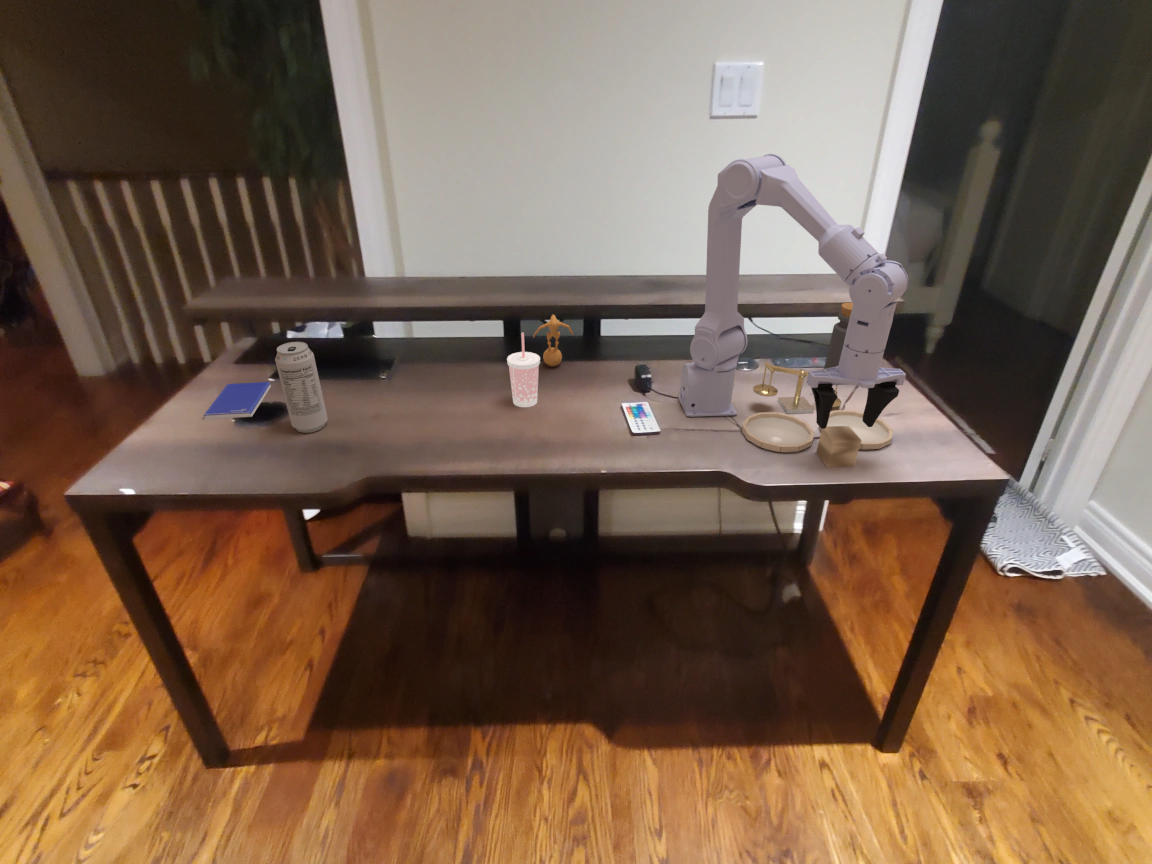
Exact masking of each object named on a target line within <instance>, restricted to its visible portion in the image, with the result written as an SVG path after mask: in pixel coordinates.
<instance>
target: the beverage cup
mask: <svg viewBox="0 0 1152 864" xmlns="http://www.w3.org/2000/svg"><path fill="white" fill-rule="evenodd" d="M520 335H521V336H520V337H521V351H519V352H514V353H511V354H509V355H508V356H507V357H506V361H507V362H506V364H507V365H508V370H509V379H510V387H511V397H512V402H513V404H514V405H515V406H516V407H519V408H529V407H533V406H535V405H537V403H538V394H539V393H538V391H539V390H538V388H539V372H540V371H539V367H540V364H541V356H540V355H539V354H537V353H534V352H531V351H526V350H525V348H526V347H525V332H521V333H520Z"/></svg>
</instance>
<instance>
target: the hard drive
mask: <svg viewBox="0 0 1152 864" xmlns="http://www.w3.org/2000/svg"><path fill="white" fill-rule="evenodd" d="M271 387H272V385H271V382H268V381H261V382H259V381H258V382H245V383H243V382H242V383H228V384H226V385H225V386H224V388H223V389H222V391H221V392H220V393H219V395H218V396H217V397H216V398H215V400H214V401H213V403H212V404H211V405H210V406H209V407H208V409H207V410H206V411H205V413H204V414H203V419H204V420H211V419H212V420H216V419H232V418H233V419H234V418H252V417H253V415H254V414H255V412H256V411H257V409H258V408H259V406H260V405H261V403H262V402H263V400H264V398H265V396H266V395H267V394H268V392H269V390H270V389H271Z"/></svg>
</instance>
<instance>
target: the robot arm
mask: <svg viewBox="0 0 1152 864" xmlns="http://www.w3.org/2000/svg"><path fill="white" fill-rule="evenodd" d="M758 205H760V206H768V207H769V206H770V207H779V208H781V209H782V210H783V211H784V212H786V214H788V215H789V216H790V217H791V218H792V219H793V220H794V221H795V222H796V223H797V224H799V225H800V226H801V227H802V228H803V229H804V230H805V231H807V233H808V234H810V235H811V236H812V237H813V238H814V239H815V240H816V241H817V242H818V252H817V253H818V255H819V256H820V258H822V260H823V261H824V262H825V263H826V264H827V265H828V266H829V267H830V268H831V270H833V271H834V273H836V275H837V276H838V277H839V278H840V279H841V280H842V281H843V282H844V283H845V284H846V285H847V286H848V288H849V289H848V294H849V297H850V299H851V303H853V308H852V312H851V315H850V319H849V323H848V328H847V332H846V336H845V340H844V344H843V349H842V353H841V357H840V361H839V366H836V367H832V368H827V369H824V368H823V369H818V370H809V371H808V372H809V373H808V377H807V378H806V384H807V385H808V386H810V390H811V392H812V395H813V398H814V404H815V410H816V411H815V412H816V413H815V414H816V420H815V422H816V424H817V425H818V428H819V427H820V428H821V429H825V428H826V426H827V424H828V420H829V415H830V412H831V411H832V408H833V407H832V406H833V404H834V402H835V400H836V399H837V398H839V397H838V394H837V395H836V394H835V393H834V392H833V390H835V388H834V387H833V386H836V385H838V386H850V385H851V386H858V387H860V388H862V389H867V396H866V403H865V407H864V409H863V410H864V411H863V412H862V413H863V422H864V423H865V424H866V425H867V426H868V427H872V426H873V424H874V423H875V421H876V420H877V418H880V417H879V416H881V413H882V412H883V411H884V409H885V408H886V407H887V406H888V405H890V403H891V402H892V401H894V400H895V399H896V398H897V397H898V396H899V393H900V389H899V388H898V387H897V386H903V385H904V383H905V380H906V377H907V374H906V372H904V371H903V370H902V369H901V368H889V367H881V364H882V360H883V357H884V353H885V350H886V347H887V342H888V339H889V335H890V332H891V328H892V325H893V320H894V316H895V311H896V307H897V304H898V302H897V300H898V299H900V298H901V297H902V296H904V294H905V292H906V291H907V289H908V285H909V276H908V273H907V271H906V270H905V268H904V267H903V264H902V263H900V262H898V261H896V260H889V259H888V257H887V256H886V255H885V254H884V252H883V253H881V254H880V253H879V252H878V250H877V249H875V248H874V247H873V245H872V244H870V243H869V242H868V240H867V239H865V238H864V237H863V236H864V235H865V231H864V230H863V229H862V228H861V227H860V226H859V227H858V226H857V227H854V226H853V225H852V224H838V222H836V221H835V220H834V217H832V216H831V215H830V213H829V212H828V211H827V210H826V209H825V208H824V206H823V205H822V204H821V203H820V202H819V201H818V200H817V198H816V196H815V195H813V193H812V192H811V191H810V190H809V189H808V188H807V187H806V186H805V184H804V183H803V182H802V181H801V179H800V178H799V176H798V174H797V171H796V169H795V168H793V167H792V166H791V165H789V164H787V163H786V161H785V159H784V158H783V157H781V156H780V155H779V154H775V153H767V154H765V155H761V156H756V157H750V158H738V159H735V160H732V161H731V162H730V163H729V164H728V165H727V166H725V167H724V168H723V169H722V170H721V171H720V172H719V173H718V174H717V186H716V188H715V191H714V193H713V195H712V198H711V199H710V202H709V204H708V210H707V239H706V244H707V245H706V267H705V269H706V271H705V272H706V275H705V276H706V277H705V305H704V306H705V307H704V313H703V314H702V316H701V318H700V319H699V320H698V322H697V323H696V325H695V327H694V335H693V337H692V339H691V342H690V346H689V353H690V356H691V357H690V358H691V359H692V361H691V362H686V363H683V365H682V369H681V376H680V387H679V395H678V396H677V397H678V398H677V399H678V400H679V403H680V404H681V406H682V408H683V411H684V413H685V416H686V417H689V418H691V417H692V418H693V417H716V416H718V417H720V416H722V417H723V416H729V417H730V416H737V415H738V411H737V410H736V408H735V406H734V404H733V403H732V398H733V391H734V387H735V379H736V372H737V365H738V361H739V358H740V356H739V355H741V354H743V353H744V352H745V350H746V349H747V346H748V339H749V338H748V335H747V332H746V329H745V318H744V316H743V315H742V314H741V313H740V312H739V311H738V302H739V298H738V297H739V285H740V284H739V282H740V281H739V280H740V265H741V263H740V262H741V247H742V245H741V244H742V228H743V227H742V226H743V225H742V224H743V218H744V217H745V216H746V215H747V214H748V213H749V212H751V211H752V210H753V209H754V208H756V206H758ZM887 259H888V260H887Z"/></svg>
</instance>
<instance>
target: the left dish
mask: <svg viewBox="0 0 1152 864" xmlns="http://www.w3.org/2000/svg"><path fill="white" fill-rule="evenodd" d="M741 432H742V433H743V435H744V437H745V438H746V440H747V441H749V442H751V443H752V444H753V445H755V446H757V447H760V448H762V449H764V450H767V451H772V452H777V453H794V452H796V453H797V452H800V451H803V450H804V449H807V448H809V447H811V446H812V445H813V440H814V438H815V431H814V429H813V428H812V427H811V425H810V424H809V423H808V422H807V421H804V420H802V419H801V418H798V417H797V416H794V415H791V414H787V413H782V412H776V411H768V412H767V411H766V412H765V411H763V412H757V413H754V414H751V415H749V416H747V417H746V418H745V419H744V422H743V423H742V425H741Z"/></svg>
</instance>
